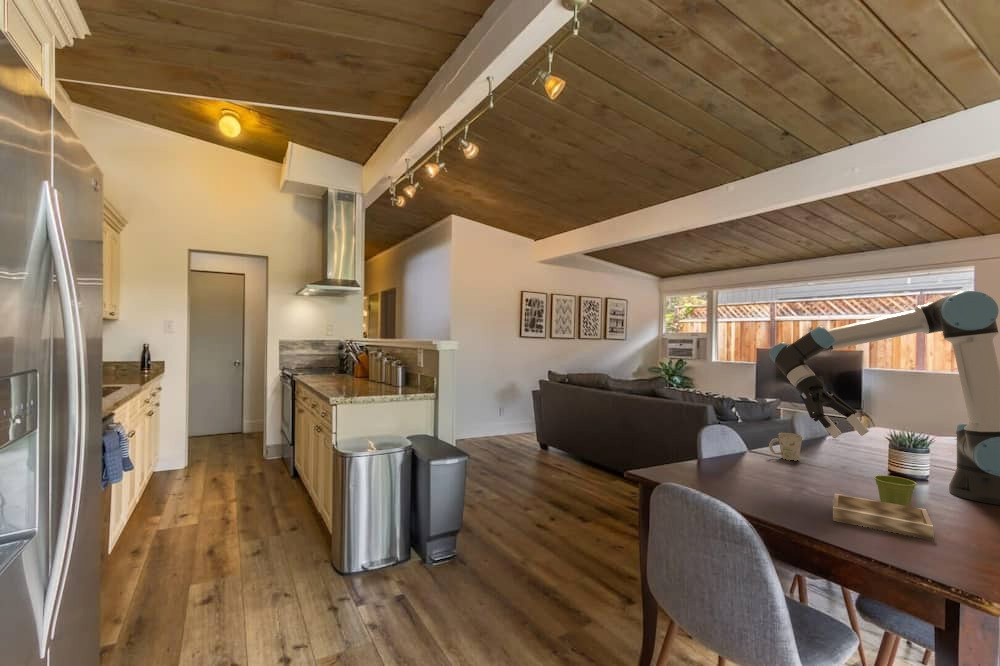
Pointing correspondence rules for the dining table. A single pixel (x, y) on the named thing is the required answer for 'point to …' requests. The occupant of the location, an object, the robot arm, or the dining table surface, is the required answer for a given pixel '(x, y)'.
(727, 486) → the dining table surface
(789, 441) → the mug
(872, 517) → the tray
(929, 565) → the dining table surface
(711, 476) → the dining table surface
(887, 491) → the plant pot
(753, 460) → the dining table surface
